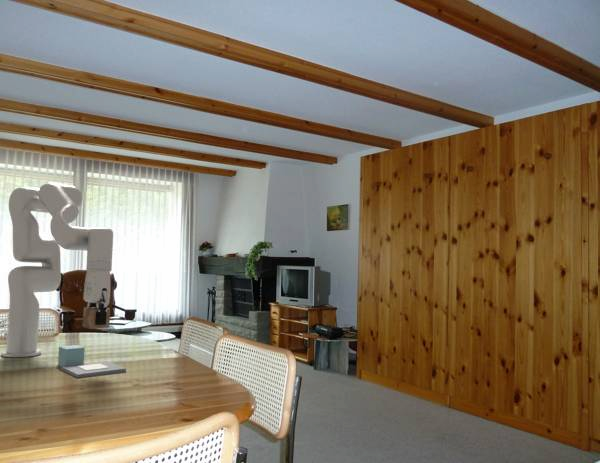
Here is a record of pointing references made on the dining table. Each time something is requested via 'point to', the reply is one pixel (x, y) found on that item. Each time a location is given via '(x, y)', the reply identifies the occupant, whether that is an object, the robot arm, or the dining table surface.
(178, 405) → the dining table surface
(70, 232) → the robot arm
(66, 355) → the teal block
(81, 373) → the grey flat slab
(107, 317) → the walnut block
